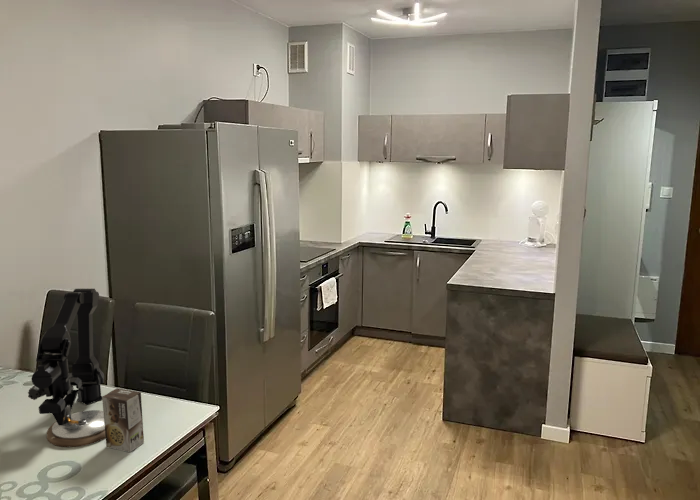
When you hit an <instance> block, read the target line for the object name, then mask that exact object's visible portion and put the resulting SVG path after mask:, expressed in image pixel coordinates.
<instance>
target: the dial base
mask: <svg viewBox="0 0 700 500" xmlns="http://www.w3.org/2000/svg"><path fill="white" fill-rule="evenodd" d="M53 425H54V423H52V424H50V426H49V427H48V428H47V430H46V439H47V442H48V443H49V444H50V445H53V446H56V447H61V448H76V447H77V448H78V447H84V446H89V445H93V444H96V443H99V442H101V441H104V440H106V437H105V431H103V432H101V433H99V434H97V435H94V436H91V437H87V438H82V439H74V440H67V439H60V438H57V437H55V436H54V435H53V433H52V426H53Z"/></svg>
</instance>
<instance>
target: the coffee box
mask: <svg viewBox="0 0 700 500" xmlns="http://www.w3.org/2000/svg"><path fill="white" fill-rule="evenodd" d="M101 400H102V411H103V413H104V425H105V437H106V438H105V445H106V446H105V447H106V448H109V449H114V450H119V451H124V452H129V453H132V452H133V451H134V450H135V449H137V448H138V447H140V446H141V445H143V444H144V442H145V439H144V435H145V434H144V422H143V419H144V418H143V407H142V392H141V391H136V390H131V389H124V388H119V387H117V388H115V389H113V390H111V391H109V392H108V393H106V394H105V395H103V396H102V399H101Z"/></svg>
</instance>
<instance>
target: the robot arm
mask: <svg viewBox="0 0 700 500" xmlns="http://www.w3.org/2000/svg"><path fill="white" fill-rule="evenodd" d="M96 290H97V289H95V288H74V289H73V291H67V292H65V294H64V297H63V303H62V304H61V308H60V309H59V312H58V315H57V316H56V319H55V321H54V323H53V325H52V326H51V327H50V328H49V329H47V330H46V331H45V332H44V334H43V335H42V337H41V339H40V340H39V345H38V349H37V355H36V361H35V362H38V363H40V364H38V366H37V370H36V371H35V372H33V374H32V376H31V383H32V386H31V387H30V389H29V390H28V392H27V394H28V398H29V399H31V400H33V401H35V400H37V399H39V398H42V397H44V396H45V397H46V398H45V400H44V401H42V403H40V405H39V406H38V413H39V414H40V415H45V414H51V415H52V416H53V417H54V420H55V422H57V423H58V425H63V422H64V418H65V414H66V410H67V406H68V404H67V405H65V403H69V404H70V410H71V411H72V410H73V407H74V404H75V401H77V402H80V403H81V404H84V405H86V406H87V405H90V404H92V403H96V402H98V401H101V400H102V397H103V396H102V388H101V385H102V384H104V383H105V382H104V381H105V374H104V372H103V371H102V369H101V368H100V363H99V361H98V359H97V358H96V356H95V355H94V320H93V314H94V312H95V310H96V309H97V307H99V306H98V305H99V304H98V303H99V299H100V293H99V291H96ZM76 317H77V319H76ZM75 319H76V320H77V326H76V327H77V359H75V361H74V363H73V364H72V366H71V368H72V371H71V372H70V370H69V362H68V361H69V360H68V356H69V354H70V351H71V345H72V338H71V335H70V332H71V329H72V326H73V324H74V321H75ZM74 387H75V388H76V389H75V388H74ZM50 397H51V398H50Z"/></svg>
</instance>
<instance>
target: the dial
mask: <svg viewBox="0 0 700 500" xmlns="http://www.w3.org/2000/svg"><path fill="white" fill-rule="evenodd" d="M67 404H68V406H67V410H66V414H65V418H64V422H63V425H58V423H57V421H55V422H53V424H54V425H53V426H52V433H53V435H54V436H55V437H57V438H60V439H67V440H74V439H82V438H87V437H91V436H94V435H97V434H99V433H101V432H103V431H105V425H104V413H103V410H95V409H93V410H92V409H91V410H83V411H82V410H81V411H78V412H75V413H72V410H70V404H69V403H65V405H67Z"/></svg>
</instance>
